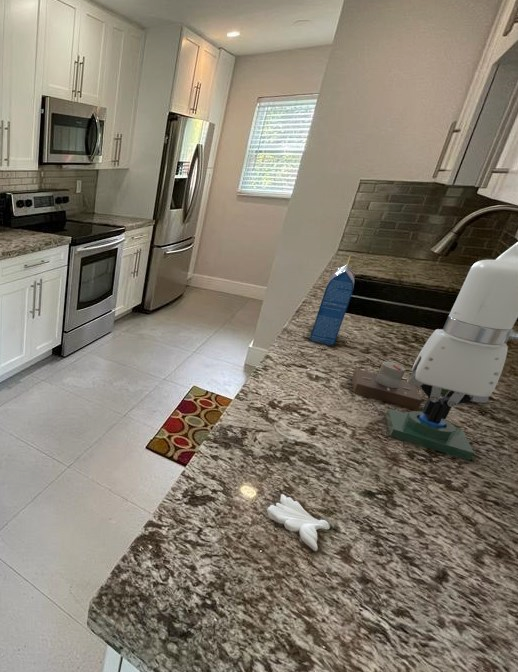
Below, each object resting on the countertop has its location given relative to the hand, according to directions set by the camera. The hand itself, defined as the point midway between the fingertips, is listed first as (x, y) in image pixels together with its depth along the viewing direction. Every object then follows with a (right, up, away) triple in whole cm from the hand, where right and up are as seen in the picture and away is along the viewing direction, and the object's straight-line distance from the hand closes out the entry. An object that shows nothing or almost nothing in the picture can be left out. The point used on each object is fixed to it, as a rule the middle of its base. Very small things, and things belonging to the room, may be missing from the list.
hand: (431, 418), depth 78 cm
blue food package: (+14, +12, +46) cm, 50 cm away
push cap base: (0, -4, +2) cm, 5 cm away
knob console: (+5, +1, +16) cm, 17 cm away
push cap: (0, -2, +1) cm, 2 cm away
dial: (+6, +4, +15) cm, 17 cm away
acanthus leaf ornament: (-39, -11, -19) cm, 44 cm away
